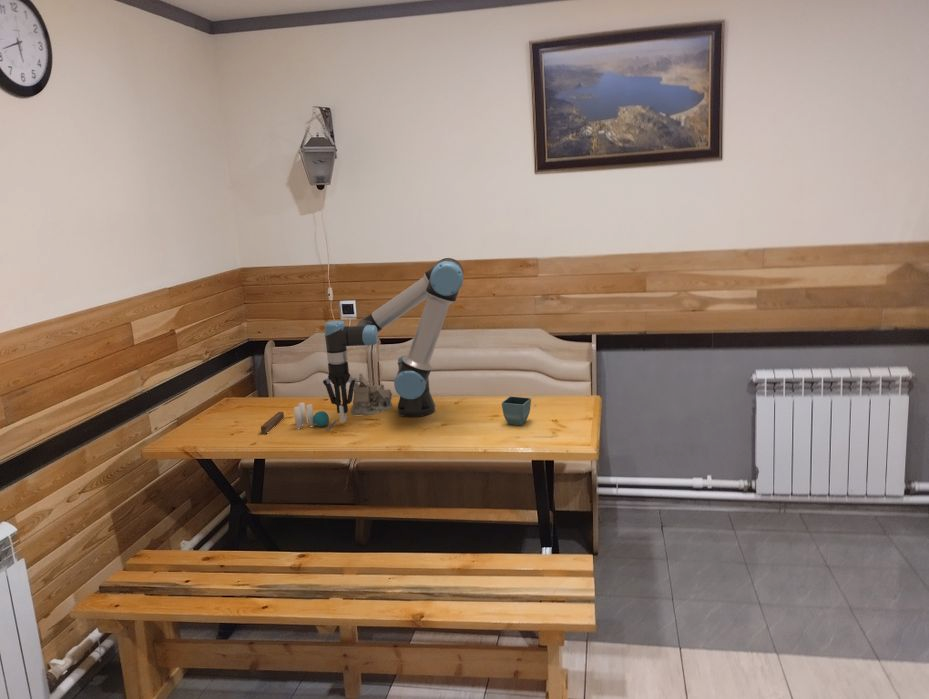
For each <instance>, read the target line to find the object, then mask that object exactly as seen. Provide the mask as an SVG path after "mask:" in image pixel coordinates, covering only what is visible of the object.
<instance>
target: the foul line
mask: <svg viewBox="0 0 929 699" xmlns="http://www.w3.org/2000/svg"><path fill="white" fill-rule="evenodd" d="M336 422H337V423H338V422H339V420H338V419H337V420H333V422H332V423H331V424H330V425H329V427H327V428H326V429H325V432H329V431H331V429H332V428H333V427H334V426H335V425H336V424H337V423H336ZM335 423H336V424H335ZM334 424H335V425H334ZM333 425H334V426H333ZM332 426H333V427H332Z"/></svg>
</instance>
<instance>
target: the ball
mask: <svg viewBox="0 0 929 699" xmlns="http://www.w3.org/2000/svg"><path fill="white" fill-rule="evenodd" d="M313 420H314V423H315V426H316V427H317V426H318V427H325V426H326V425H328V423H329V422H330V416H329V413H327V412H326V411H325V410H324V411H323V410H319V411H316V412H315V414H314V417H313Z"/></svg>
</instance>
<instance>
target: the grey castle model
mask: <svg viewBox="0 0 929 699" xmlns="http://www.w3.org/2000/svg"><path fill="white" fill-rule="evenodd" d="M358 380H359V383H358V381H356V382H355V384H354V390H353V398H352V405H351V410H350V411H351V412H350V414H351V415H352V416H354V415H365V416H370V414H371V415H374V413H375V414H378V412H379V413H382V411H383V412H386V411H389V410H392V408H393V407H394V405H393V402H392V398H393V397H392V396H393V393H392V391H391V390H390V389H385V384H383V383H381V384H380V385H379V384H378V385H371V384H370V383H369V381H367V379H366V378H365V377H364V376H363V373H359V374H358Z"/></svg>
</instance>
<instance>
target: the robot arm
mask: <svg viewBox="0 0 929 699" xmlns="http://www.w3.org/2000/svg"><path fill="white" fill-rule="evenodd" d="M463 284H464V269H463V266H462V265H461V263H460V262H459V261H458V260H456V259H454V258H452V257H451V258H450V257H446V258H442V259H439V260H438V261H437V262H436V263H435V264H434V265H433V266H432V267H431V268H429V270H427V271H426V272H424V274H423V277H421V278H420V279H418V280H417V281H416V282H414V283H413V284H412V285H410V286H409V287H407V288H406V289H404V290H403V291H402V292H400V293H398V294H397V295H396V296H394V297H393V298H391V299H390V300H388V301H387V302H385V303H384V304H383V305H381V306H380V307H378V308H377V309H375V310H374V311H373V312H371V313H369V315H368V314H367V316H365V317H363V318H361V319H360V320H359V321H358V322H357V324H356V325H348V326H347V325H345V322H344V321H343V320H330V321H327V322H326V323H325V324H324V337H325V339H324V340H325V347H326V356H327V357H326V358H327V359H326V360H327V362H328V364H327V369H328V375H327V378H325V379H323V381H322V383H323V385H324V386H325V389H326V391H327V394H328V396H329V399H330V400H329V401H330V402H331V404H332V405H335V406H336V412H337V414H339V419H340V423H345V422H346V421H347V413H348V412H349V408H348V405H350V404H351V403H353V397H354V391H353V390H354V384H355V383H356V382H357V378H353V377H352V376H351V374H350V370H349V369H350V368H349V362H348V351H347V350H348V349H347V347H358V346H359V347H360V346H367V347H369V346H375V345H377V344H378V339H379V332H380V331H382V330H383V329H384V328H386V327H388V325H391V324H392V323H393V322H395V321H396V320H398V319H399V318H401V317H402V316H403V315H405V314H406V313H408V312H409V311H411V310H412V309H414V308H415V307H417V306H419V304H421V303H423V302H425V305H424V308H423V311H422V313H421V316H420V319H419V322H418V324H417V327H416V331H415V333H414V336H413V340H412V342H411V346H410V348H409V351H408V353H407V355H401V356H400V357H398V359H397V365H398V366H397V367H398V369H397V370H398V371H397V373H396V376H395V378H394V381H393V383H394V384H393V385H394V390H395V392H396V393H397V395H399V399H398V402H397V404H398V405H397V414H398V416H402V417H405V418H407V417H409V418H419V417H423V416H428V415H432V414H433V413H435V411H436V404H435V401H434V398H433V396H432V395H431V391H430V379H429V378H430V377H429V376H430V374H431V371H432V365H431V364H430V362H431V359H432V357H433V354H434V351H435V348H436V345H437V342H438V339H439V337H440V333H441V331H442V328H443V325H444V322H445V319H446V317H447V314H448V310H449V307H450V305H451V304H454V303H455V302H456V300H457V297H458V295H459V291H460V289H461V288H462V287H463V286H462V285H463ZM331 383H332V384H331ZM347 383H349V386H348V391H347ZM332 385H333V387H332Z"/></svg>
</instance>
